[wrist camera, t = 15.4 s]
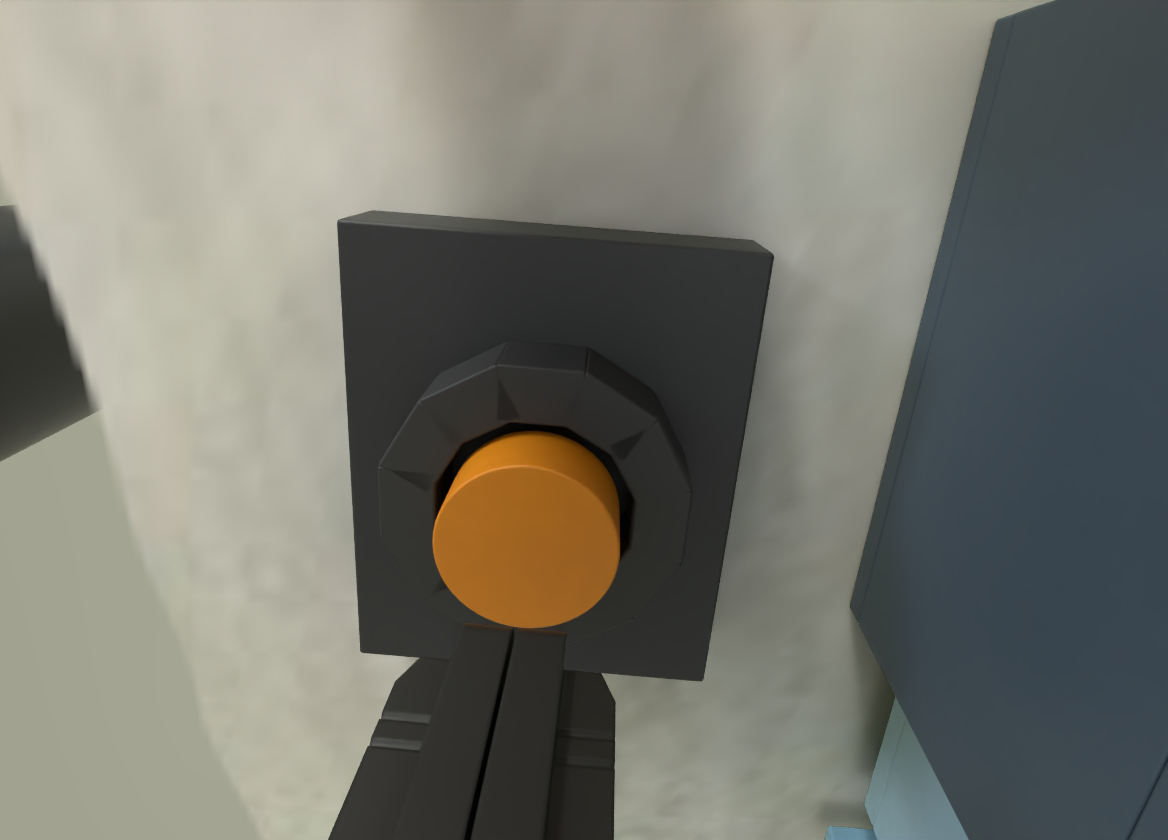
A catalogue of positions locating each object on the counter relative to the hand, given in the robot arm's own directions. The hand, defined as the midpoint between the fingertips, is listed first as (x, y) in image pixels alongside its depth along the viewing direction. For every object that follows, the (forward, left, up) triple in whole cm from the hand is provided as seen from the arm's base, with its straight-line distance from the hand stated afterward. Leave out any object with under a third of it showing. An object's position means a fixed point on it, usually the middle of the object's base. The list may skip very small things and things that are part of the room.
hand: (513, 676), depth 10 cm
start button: (0, 0, -5) cm, 5 cm away
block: (0, 0, -9) cm, 9 cm away
